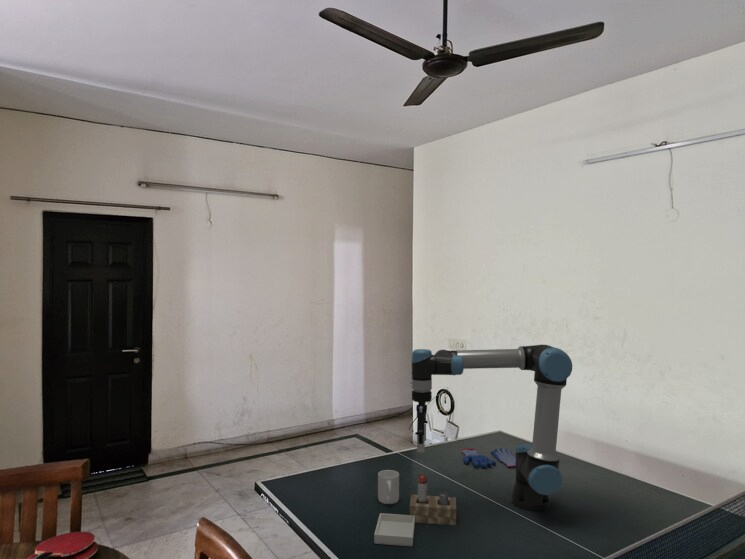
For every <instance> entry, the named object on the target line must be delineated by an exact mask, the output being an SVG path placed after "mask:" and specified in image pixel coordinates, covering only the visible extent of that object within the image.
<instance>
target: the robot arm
mask: <svg viewBox="0 0 745 559" xmlns="http://www.w3.org/2000/svg"><path fill="white" fill-rule="evenodd" d="M516 368H517V369H520V370H521V371H530V372H531V371H533V372H534V375H533V376H534V377H533V382H534V383H535V384H536V386H537V389H536V390H537V391H536V400H535V408H534V409H535V410H534V420H533V421H534V422H533V431H532V432H533V433H532V443H521V444H517V446H515V456H516V468H515V482H514V485H513V488H512V491H511V495H510V498H511V499H510V501H511V503H512V504H513V505H515V507H516V506H517V507H518V508H521V509H523V510H528V511H535V512H536V511H546V510H547V509H549V508H550V507H551V498H550V495H553V494H554V493H556V492H557V491H559V489H560V488H561V486H562V484H563V477H562V473H561V471H560V470H559V468H560V455H558V454H557V442H558V431H559V430H558V429H559V420H560V411H561V410H560V409H561V398H562V390H563V389H564V388H565V387H566V386H567V379H568V378H569V377H570V376H571V375H572V371H573V362H572V358H571V357H570V356H569V354H567V353H566V352H565V351H564V350H562V349H560V348H559V347H554V346H551V345H548V344H535V345H524V346H523V345H522V346H521V345H520V346H519V347H518V348H507V349H505V348H500V349H499V348H498V349H497V348H496V349H464V350H462V349H461V350H447V349H439V350H438V351H436V353H434V354H433V353H432V350H431V349H425V348H422V349H421V348H420V349H419V348H418V349H414V350H413V351H412V356H411V381H410V382H409V383H410V384H411V389H412V390H411V400H412V401H413V402H415V403H417V404H416V407H415V410H416V418H417V421H416V422H417V423H416V432H414V434H415V435H416V452H417V453H425V445H426V444H425V442H426V441H427V424H428V423H429V422H428V420H427V410H428V405H427V404H426V403H430V402H431V401H432V400H433V398H432V393H433V392H432V389H433V386H432V384H433V383H432V382H433V381H432V380H433V378H432V376H436V375H438V376H459V375H460V376H461V375H463V373H464V370H465V369H466V370H468V369H469V370H470V369H471V370H472V369H516Z"/></svg>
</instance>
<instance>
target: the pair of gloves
mask: <svg viewBox="0 0 745 559" xmlns="http://www.w3.org/2000/svg"><path fill="white" fill-rule="evenodd" d="M461 453H462V454H464V456H463V458H462V459H463V464H465V465H469V463H470V460H471V464H472V466H473V467H474V468H478V467H480V468H481V469H482V468H483V469H484V468H486V467H488V468H491V467H493V466H495V465H497V462H496V460H497V461H499V462H500V463H503V464H504V465H505V466H507V469H510V470H511V469H512V470H513V469H516V455H514V454H513V453H512V451H511V450H510V449H508V448H507V449H505V448H504V447H500V448H495V449H494V450H491V451H490V454H491V455H492V456H493V457H494V458H495V459H496V460H494V459H491V458H489V457H488V456H486V455H484V454H478V452H477V449H476V448H467V447H464V448H463V449H461Z"/></svg>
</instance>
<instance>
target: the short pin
mask: <svg viewBox="0 0 745 559" xmlns="http://www.w3.org/2000/svg"><path fill="white" fill-rule="evenodd" d="M438 496H439V505H448V497H449V493H447V492H439V495H438Z"/></svg>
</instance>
